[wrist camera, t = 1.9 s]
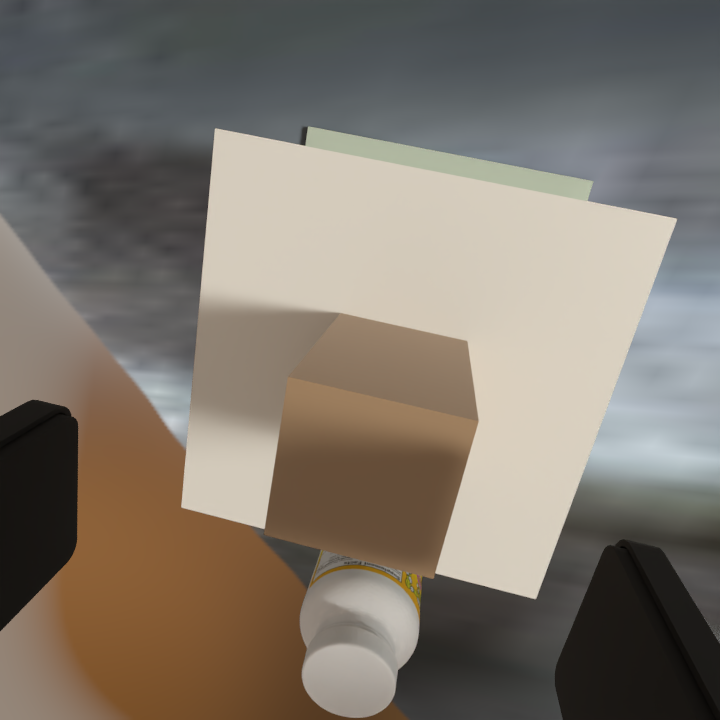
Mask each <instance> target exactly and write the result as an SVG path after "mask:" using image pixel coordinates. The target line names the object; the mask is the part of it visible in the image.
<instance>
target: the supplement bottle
mask: <svg viewBox="0 0 720 720" xmlns="http://www.w3.org/2000/svg"><path fill="white" fill-rule="evenodd" d="M421 588H422V576H420V575H416V574H412V573H408V572H404V571H400V570H397V569H393V568H389V567H385V566H381V565H377V564H374V563H370V562H366V561H362V560H358V559H354V558H350V557H347V556H343V555H339V554H335V553H331V552H327V551H324V550H321V551H320V554H319V557H318V560H317V563H316V566H315V569H314V572H313V575H312V578H311V581H310V584H309V587H308V590H307V593H306V595H305V598H304V601H303V604H302V607H301V612H300V630H301V634H302V638H303V641H304V643H305V645H306V647H307V651H306V655H305V659H304V663H303V667H302V681H303V685H304V687H305V689H306V691H307V693H308V694H309V696H310V697H311V698H312V700H313V701H314V702H315V703H317V704H318V705H319V706H321V707H322V708H323V709H325V710H327V711H329V712H331V713H334V714H336V715H340V716H344V717H352V718H362V717H368V716H372V715H375V714H377V713H379V712H380V711H382V710H383V709H385V708H386V707H387V706H388V705H389V704H390V702H391V701H392V699H393V697H394V694H395V690H396V681H397V674H398V669H400V668H401V667H402V666H403V665H404V664H405V663H406V662H407V661H408V660H409V658H410V657H411V655H412V654H413V652H414V650H415V648H416V645H417V641H418V636H419V624H420V605H421Z"/></svg>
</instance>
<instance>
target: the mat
mask: <svg viewBox="0 0 720 720" xmlns="http://www.w3.org/2000/svg"><path fill="white" fill-rule="evenodd" d="M305 146H308V147H313V148H318V149H323V150H328V151H333V152H338V153H343V154H349V155H354V156H359V157H364V158H369V159H374V160H379V161H384V162H389V163H395V164H400V165H405V166H410V167H415V168H420V169H425V170H430V171H435V172H441V173H446V174H451V175H456V176H461V177H466V178H471V179H476V180H481V181H486V182H492V183H497V184H502V185H507V186H512V187H517V188H522V189H527V190H532V191H538V192H543V193H548V194H553V195H558V196H563V197H568V198H573V199H578V200H584V201H587V200H588V197H589V194H590V191H591V187H592V184H593V181H589V180H584V179H579V178H573V177H568V176H563V175H558V174H553V173H547V172H542V171H537V170H532V169H527V168H522V167H516V166H511V165H506V164H501V163H496V162H490V161H485V160H480V159H475V158H470V157H464V156H459V155H454V154H449V153H444V152H438V151H433V150H428V149H423V148H418V147H412V146H407V145H402V144H397V143H392V142H386V141H381V140H376V139H371V138H366V137H361V136H355V135H350V134H345V133H340V132H335V131H329V130H324V129H319V128H314V127H309V126H308V131H307V138H306V145H305Z"/></svg>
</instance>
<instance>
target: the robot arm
mask: <svg viewBox="0 0 720 720" xmlns="http://www.w3.org/2000/svg"><path fill="white" fill-rule="evenodd" d="M77 480H78V422H77V420H76V419H75V418H74V417H71V413H70V411H69V409H68V408H66V407H64V406H60V405H55V404H51V403H47V402H43V401H39V400H31V401H28V402H26V403H24V404H22V405H20V406H19V407H17V408H15V409H13V410H11V411H9V412H7V413H6V414H4V415H2V416H0V631H1V630H2V629H3V628H4V627H5V626H6V625H7V624H8V623H9V622H10V621H11V619H13V618H14V617H15V615H17V614H18V613H19V611H20V610H21V609H22V608H23V607H24V606H25V605H26V604H27V603H28V602H29V601H30V600H31V599H32V598H33V597H34V596H35V595H36V594H37V593H38V592H39V591H40V590H41V589H42V588H43V587H44V586H45V585H46V584H47V583H48V582H49V581H50V580H51V579H52V578H53V577H54V576H55V574H56V573H57V572H58V571H59V570H60V569H61V568H62V567H63V566H64V565H65V564H66V563H67V562H68V561H69V559H70V558H71V556H72V555H73V552H74V550H75V547H76V543H77V487H78V485H77V484H78V481H77ZM555 687H556V692H557V696H558V700H559V705H560V709H561V713H562V717H563V720H720V644H719V642H718V640H717V639H716V637H715V636H714V634H713V632H712V631H711V629H710V627H709V626H708V624H707V622H706V621H705V619H704V618H703V616H702V614H701V613H700V611H699V609H698V608H697V606H696V605H695V603H694V601H693V600H692V598H691V596H690V595H689V593H688V591H687V590H686V588H685V587H684V585H683V583H682V582H681V580H680V578H679V577H678V575H677V573H676V572H675V570H674V569H673V567H672V565H671V564H670V562H669V560H668V559H667V557H666V556H665V554H664V552H663V551H662V550H661V549H660V548H657V547H654V546H649V545H645V544H641V543H637V542H632V541H628V540H624V539H623V540H620V541H619V542H618V543H617V544H616V546H611V545H609V546H607V547H606V548H605V549H604V551H603V553H602V556H601V558H600V560H599V563H598V565H597V568H596V570H595V572H594V575H593V577H592V580H591V582H590V585H589V587H588V589H587V592H586V594H585V597H584V599H583V602H582V604H581V606H580V609H579V611H578V614H577V616H576V619H575V621H574V623H573V626H572V628H571V631H570V633H569V636H568V638H567V640H566V643H565V645H564V648H563V650H562V653H561V655H560V657H559V660H558V662H557V666H556V671H555Z"/></svg>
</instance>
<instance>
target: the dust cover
mask: <svg viewBox="0 0 720 720" xmlns="http://www.w3.org/2000/svg"><path fill="white" fill-rule="evenodd" d="M676 221H677V219H675V218H670V217H665V216H660V215H655V214H650V213H645V212H640V211H635V210H629V209H624V208H619V207H614V206H609V205H604V204H599V203H594V202H589V201H584V200H578V199H573V198H568V197H563V196H558V195H553V194H548V193H543V192H538V191H532V190H527V189H522V188H517V187H512V186H507V185H502V184H497V183H492V182H486V181H481V180H476V179H471V178H466V177H461V176H456V175H451V174H446V173H441V172H435V171H430V170H425V169H420V168H415V167H410V166H405V165H400V164H395V163H389V162H384V161H379V160H374V159H369V158H364V157H359V156H354V155H349V154H343V153H338V152H333V151H328V150H323V149H318V148H313V147H308V146H303V145H298V144H292V143H287V142H282V141H277V140H272V139H267V138H262V137H257V136H252V135H246V134H241V133H236V132H231V131H226V130H221V129H216V128H215V135H214V146H213V158H212V169H211V180H210V191H209V202H208V214H207V225H206V236H205V247H204V258H203V269H202V281H201V292H200V303H199V314H198V325H197V337H196V348H195V359H194V370H193V381H192V393H191V404H190V415H189V426H188V437H187V448H186V460H185V471H184V482H183V493H182V505H181V507H182V508H185V509H189V510H193V511H197V512H201V513H204V514H208V515H212V516H216V517H220V518H224V519H228V520H231V521H235V522H239V523H243V524H247V525H251V526H255V527H258V528H262V529H265V530H264V535H266V536H270V537H274V538H277V539H281V540H285V541H289V542H293V543H297V544H300V545H304V546H308V547H312V548H316V549H320V550H324V551H327V552H331V553H335V554H339V555H343V556H347V557H350V558H354V559H358V560H362V561H366V562H370V563H374V564H377V565H381V566H385V567H389V568H393V569H397V570H400V571H404V572H408V573H412V574H416V575H420V576H424V577H427V578H431V579H434V575H435V573H436V574H440V575H444V576H448V577H451V578H455V579H459V580H463V581H467V582H471V583H475V584H478V585H482V586H486V587H490V588H494V589H498V590H502V591H505V592H509V593H513V594H517V595H521V596H525V597H529V598H533V599H536V598H537V595H538V592H539V590H540V587H541V584H542V581H543V579H544V576H545V573H546V571H547V568H548V565H549V563H550V560H551V557H552V555H553V552H554V549H555V546H556V544H557V541H558V538H559V536H560V533H561V530H562V528H563V525H564V522H565V520H566V517H567V514H568V511H569V509H570V506H571V503H572V501H573V498H574V495H575V493H576V490H577V487H578V485H579V482H580V479H581V477H582V474H583V471H584V468H585V466H586V463H587V460H588V458H589V455H590V452H591V450H592V447H593V444H594V442H595V439H596V436H597V433H598V431H599V428H600V425H601V423H602V420H603V417H604V415H605V412H606V409H607V407H608V404H609V401H610V398H611V396H612V393H613V390H614V388H615V385H616V382H617V380H618V377H619V374H620V372H621V369H622V366H623V363H624V361H625V358H626V355H627V353H628V350H629V347H630V345H631V342H632V339H633V337H634V334H635V331H636V328H637V326H638V323H639V320H640V318H641V315H642V312H643V310H644V307H645V304H646V302H647V299H648V296H649V293H650V291H651V288H652V285H653V283H654V280H655V277H656V275H657V272H658V269H659V267H660V264H661V261H662V259H663V256H664V253H665V250H666V248H667V245H668V242H669V240H670V237H671V234H672V232H673V229H674V226H675V224H676Z"/></svg>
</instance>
